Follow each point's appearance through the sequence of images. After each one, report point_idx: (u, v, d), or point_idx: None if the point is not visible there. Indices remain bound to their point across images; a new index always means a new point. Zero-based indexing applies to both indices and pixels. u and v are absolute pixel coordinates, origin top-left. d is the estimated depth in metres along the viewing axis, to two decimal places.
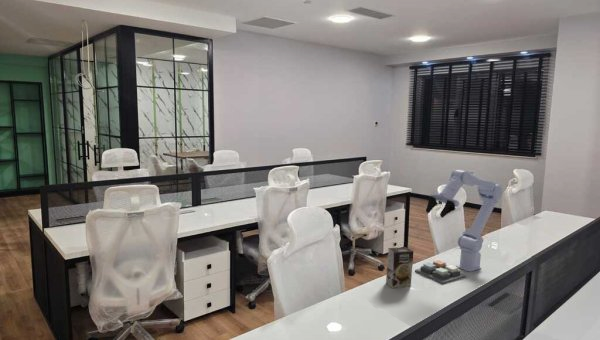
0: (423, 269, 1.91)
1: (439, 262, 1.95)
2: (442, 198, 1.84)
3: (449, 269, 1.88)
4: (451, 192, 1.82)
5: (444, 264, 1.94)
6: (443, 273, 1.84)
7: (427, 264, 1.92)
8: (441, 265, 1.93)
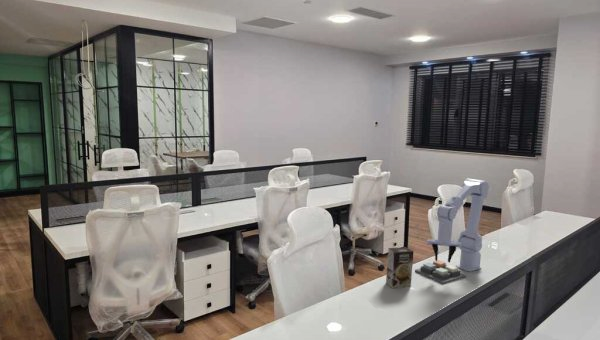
0: (423, 269, 1.91)
1: (439, 262, 1.95)
2: None
3: (449, 269, 1.88)
4: (450, 236, 1.81)
5: (444, 264, 1.94)
6: (443, 273, 1.84)
7: (427, 264, 1.92)
8: (441, 265, 1.93)
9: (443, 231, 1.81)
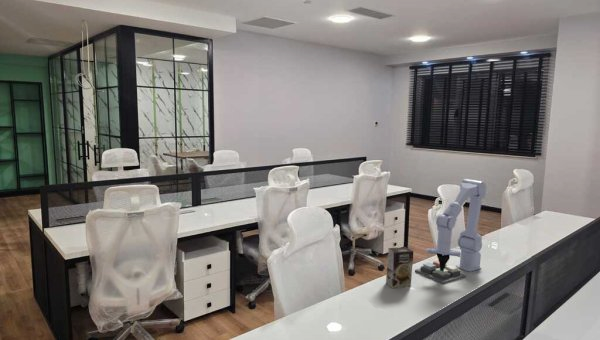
0: (423, 269, 1.91)
1: None
2: None
3: (449, 269, 1.88)
4: (449, 245, 1.82)
5: None
6: (443, 273, 1.84)
7: (427, 264, 1.92)
8: None
9: (442, 240, 1.81)
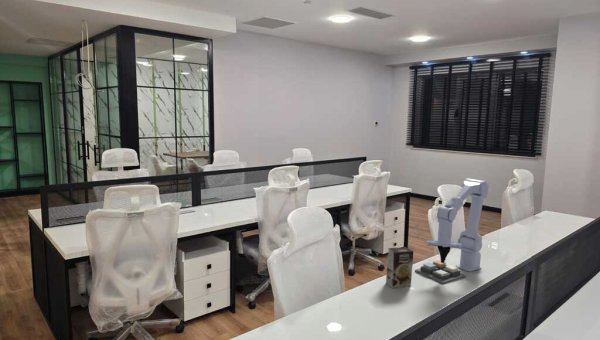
0: (423, 269, 1.91)
1: (439, 262, 1.95)
2: None
3: (449, 269, 1.88)
4: (450, 237, 1.81)
5: (444, 264, 1.94)
6: None
7: (427, 264, 1.92)
8: (441, 265, 1.93)
9: (443, 232, 1.81)
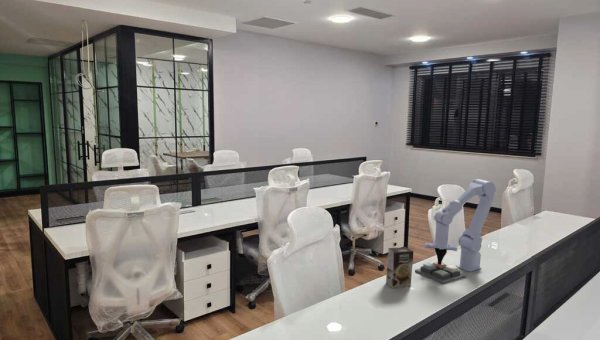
0: (423, 269, 1.91)
1: None
2: None
3: (449, 269, 1.88)
4: (446, 240, 1.91)
5: (444, 265, 1.94)
6: None
7: (427, 264, 1.92)
8: (441, 266, 1.93)
9: (438, 235, 1.92)
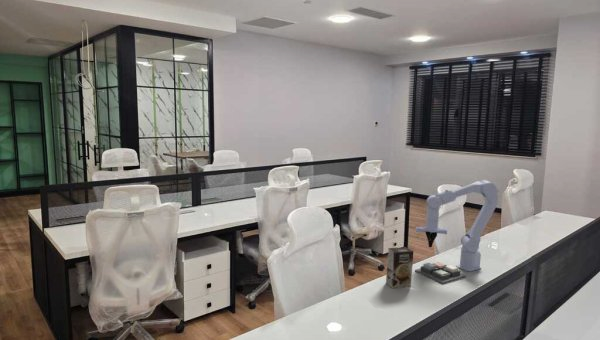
0: (423, 269, 1.91)
1: (439, 264, 1.95)
2: None
3: (449, 269, 1.88)
4: (437, 224, 1.98)
5: None
6: None
7: (427, 264, 1.92)
8: None
9: (426, 218, 1.99)
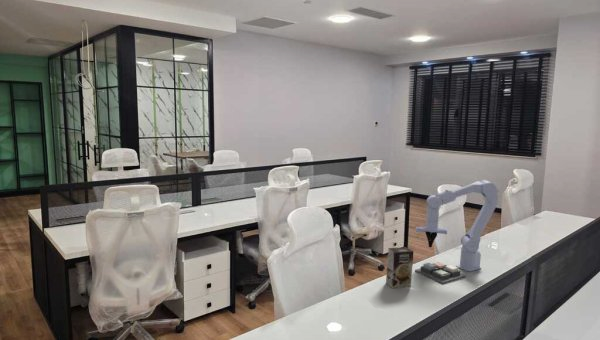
0: (423, 269, 1.91)
1: (439, 264, 1.95)
2: None
3: (449, 269, 1.88)
4: (437, 224, 1.98)
5: None
6: None
7: (427, 264, 1.92)
8: None
9: (426, 218, 1.99)
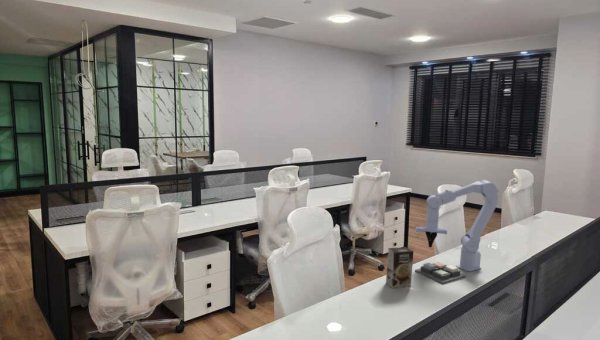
0: (423, 269, 1.91)
1: (439, 264, 1.95)
2: None
3: (449, 269, 1.88)
4: (437, 224, 1.98)
5: None
6: None
7: (427, 264, 1.92)
8: None
9: (426, 218, 1.99)
